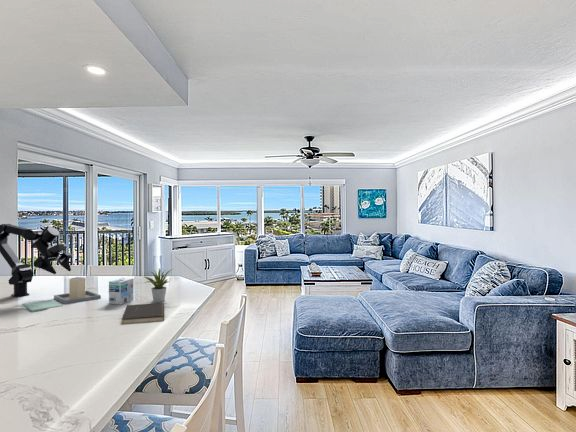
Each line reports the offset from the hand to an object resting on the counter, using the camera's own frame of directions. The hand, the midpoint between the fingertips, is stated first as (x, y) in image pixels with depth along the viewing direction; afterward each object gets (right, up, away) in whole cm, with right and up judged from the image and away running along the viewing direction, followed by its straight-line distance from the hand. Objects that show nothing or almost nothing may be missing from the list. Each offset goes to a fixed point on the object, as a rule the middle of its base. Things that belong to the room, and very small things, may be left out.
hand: (63, 272), depth 192 cm
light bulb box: (+31, -14, -5) cm, 35 cm away
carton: (+8, -13, -1) cm, 15 cm away
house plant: (+49, -14, -1) cm, 51 cm away
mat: (-1, -13, -15) cm, 20 cm away
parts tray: (+8, -13, -1) cm, 15 cm away
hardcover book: (+51, -15, -27) cm, 59 cm away
